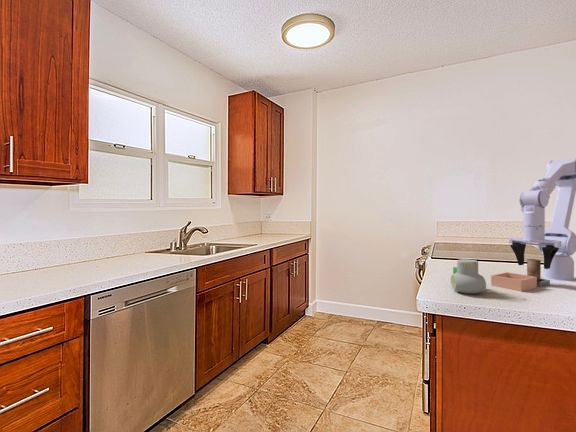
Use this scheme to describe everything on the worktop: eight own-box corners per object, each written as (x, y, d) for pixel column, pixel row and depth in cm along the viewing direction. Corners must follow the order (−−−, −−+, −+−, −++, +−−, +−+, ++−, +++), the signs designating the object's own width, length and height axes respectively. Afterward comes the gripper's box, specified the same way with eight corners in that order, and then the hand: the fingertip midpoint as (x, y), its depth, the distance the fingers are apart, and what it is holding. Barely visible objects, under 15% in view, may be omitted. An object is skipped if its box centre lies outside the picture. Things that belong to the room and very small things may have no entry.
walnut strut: (530, 282, 110) (530, 258, 110) (542, 284, 107) (542, 260, 107) (524, 283, 109) (524, 259, 109) (536, 285, 106) (537, 261, 105)
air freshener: (449, 287, 109) (449, 257, 108) (476, 288, 107) (476, 258, 106) (457, 295, 98) (457, 263, 98) (488, 297, 96) (488, 264, 96)
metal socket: (528, 282, 112) (528, 276, 112) (549, 286, 107) (550, 280, 107) (517, 284, 109) (517, 278, 109) (539, 288, 104) (539, 282, 104)
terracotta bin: (506, 283, 111) (506, 272, 111) (536, 289, 103) (536, 277, 103) (491, 287, 107) (491, 275, 107) (520, 293, 99) (520, 280, 99)
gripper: (503, 225, 112) (503, 264, 112) (553, 227, 99) (553, 271, 99) (515, 224, 115) (515, 262, 116) (564, 226, 102) (564, 269, 103)
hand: (533, 266), depth 108 cm, fingers open, 7 cm apart
